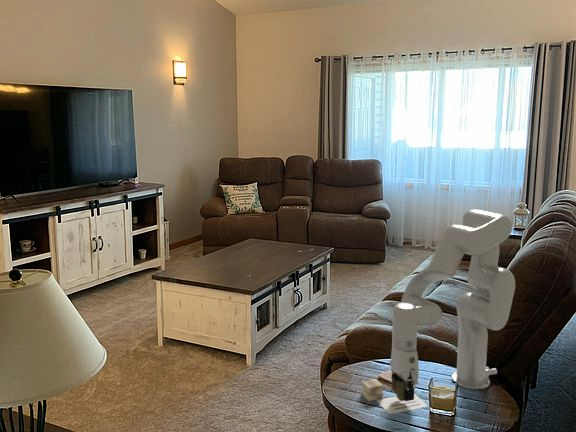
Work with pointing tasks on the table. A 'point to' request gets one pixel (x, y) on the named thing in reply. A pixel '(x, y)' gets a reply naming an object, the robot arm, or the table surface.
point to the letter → (401, 404)
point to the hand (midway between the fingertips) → (402, 394)
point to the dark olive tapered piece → (399, 386)
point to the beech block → (372, 389)
